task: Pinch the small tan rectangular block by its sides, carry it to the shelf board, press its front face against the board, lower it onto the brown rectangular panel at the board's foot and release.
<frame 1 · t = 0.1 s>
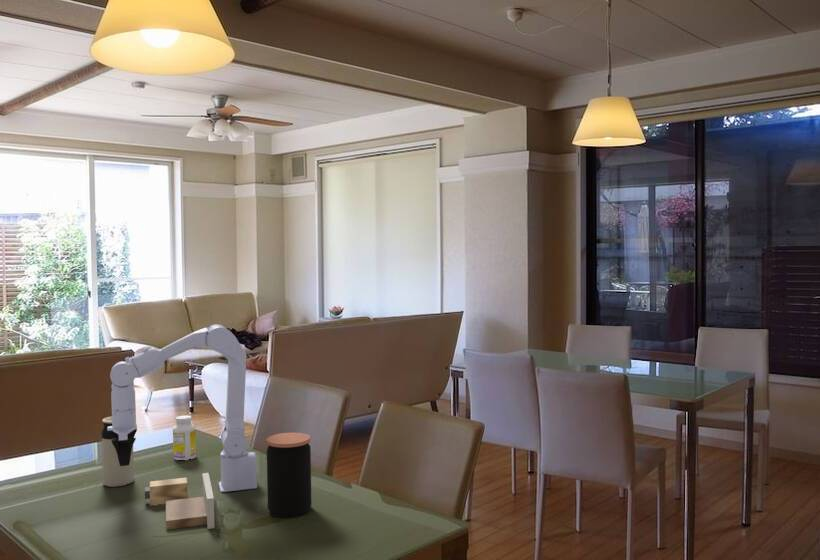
hand: (125, 461, 184), 10 cm above the table, tool pointing down, fingers open, 7 cm apart
shelf board: (208, 513, 174), on the table
brown rectangular panel: (185, 516, 173), on the table
coffee jar: (289, 511, 176), on the table
travel mug: (118, 483, 198), on the table
supplement bottle: (184, 458, 221), on the table
tan rectangular block: (168, 501, 184), on the table
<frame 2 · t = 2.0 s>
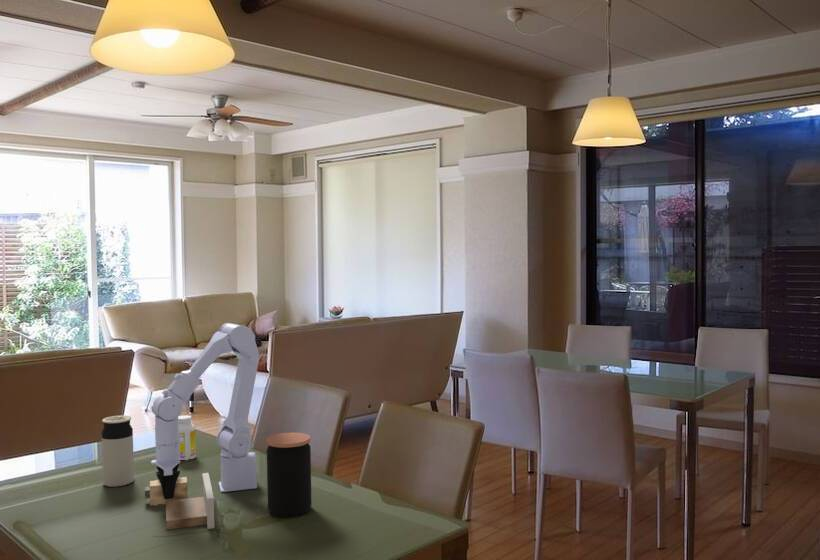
hand: (168, 495, 184), 1 cm above the table, tool pointing down, fingers closed on tan rectangular block, 4 cm apart
tan rectangular block: (169, 500, 184), on the table, touching gripper
everything else where it was.
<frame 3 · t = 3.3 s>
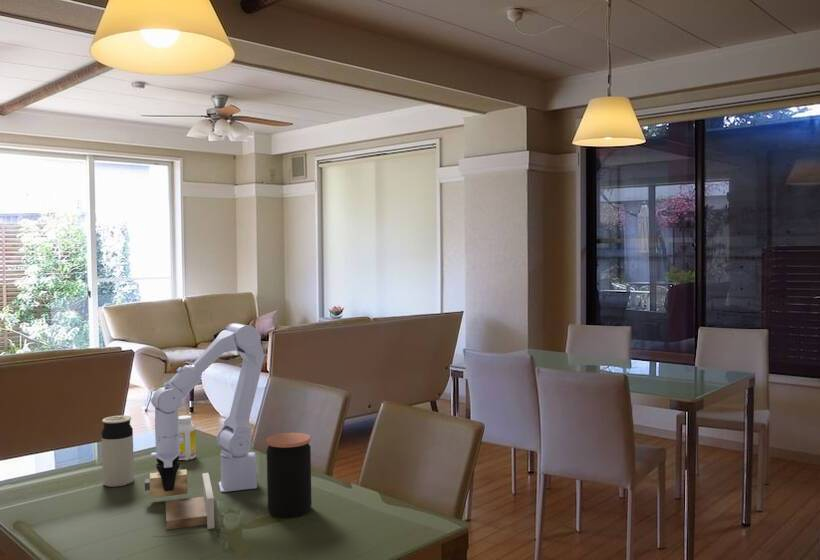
hand: (168, 487, 184), 3 cm above the table, tool pointing down, fingers closed on tan rectangular block, 4 cm apart
tan rectangular block: (168, 493, 184), point 2 cm above the table, touching gripper
everything else where it was.
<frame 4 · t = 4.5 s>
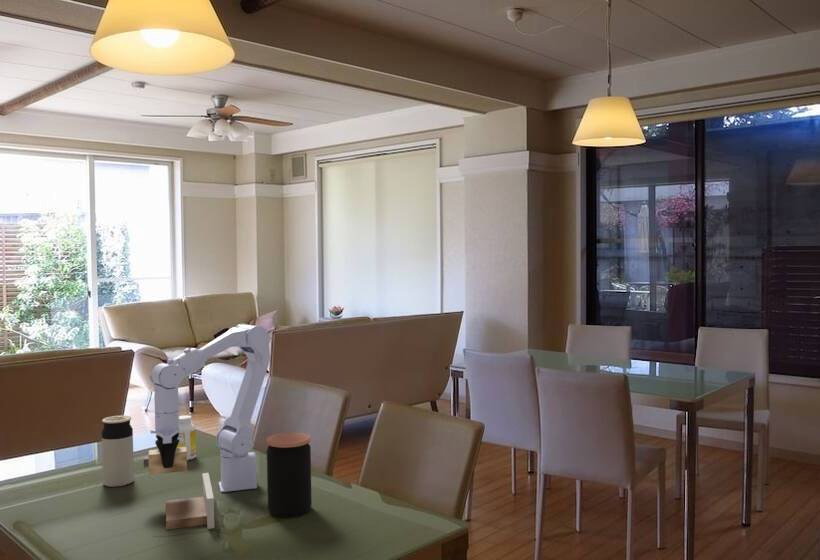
hand: (168, 464, 181), 10 cm above the table, tool pointing down, fingers closed on tan rectangular block, 4 cm apart
tan rectangular block: (168, 470, 181), point 8 cm above the table, touching gripper
everything else where it was.
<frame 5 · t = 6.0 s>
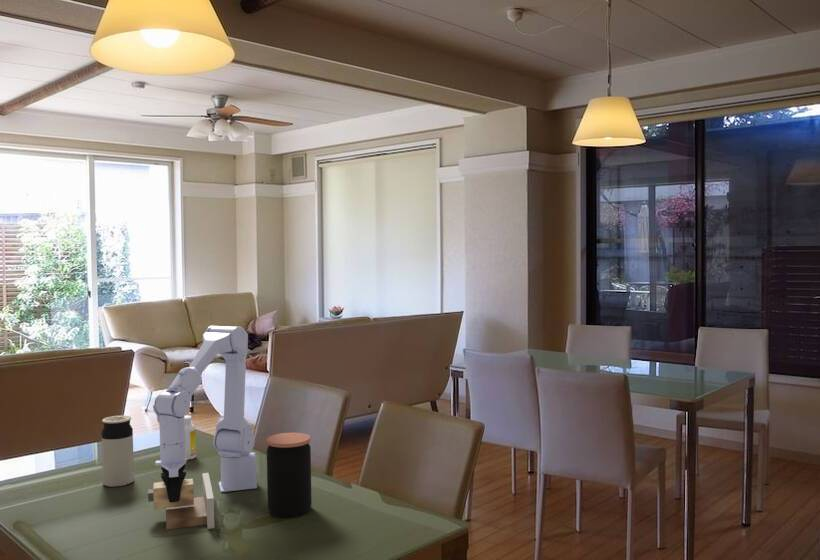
hand: (174, 498, 172), 5 cm above the table, tool pointing down, fingers closed on tan rectangular block, 4 cm apart
tan rectangular block: (173, 504, 172), point 3 cm above the table, touching gripper
everything else where it was.
when the fingers open (4 cm above the table, at t = 7.3 s): tan rectangular block stays where it is, resting on brown rectangular panel.
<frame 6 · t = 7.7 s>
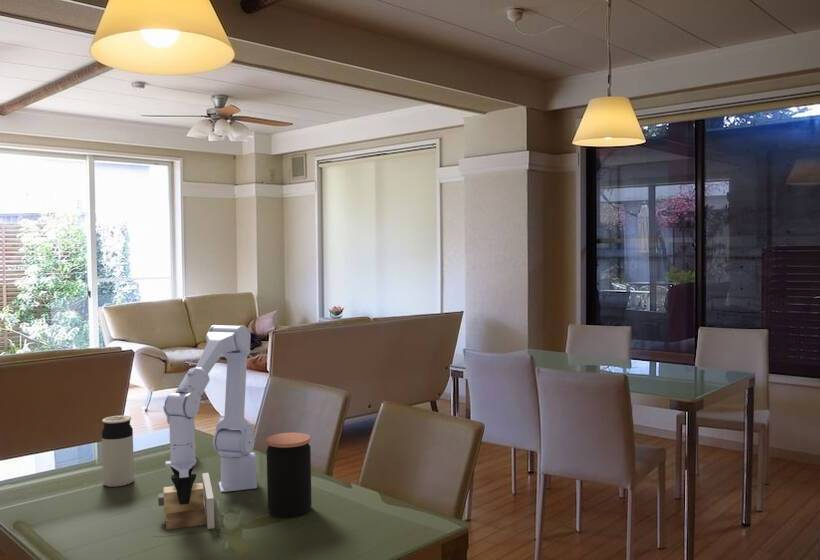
hand: (183, 498, 172), 4 cm above the table, tool pointing down, fingers open, 7 cm apart
tan rectangular block: (183, 508, 173), point 2 cm above the table, touching brown rectangular panel
everything else where it was.
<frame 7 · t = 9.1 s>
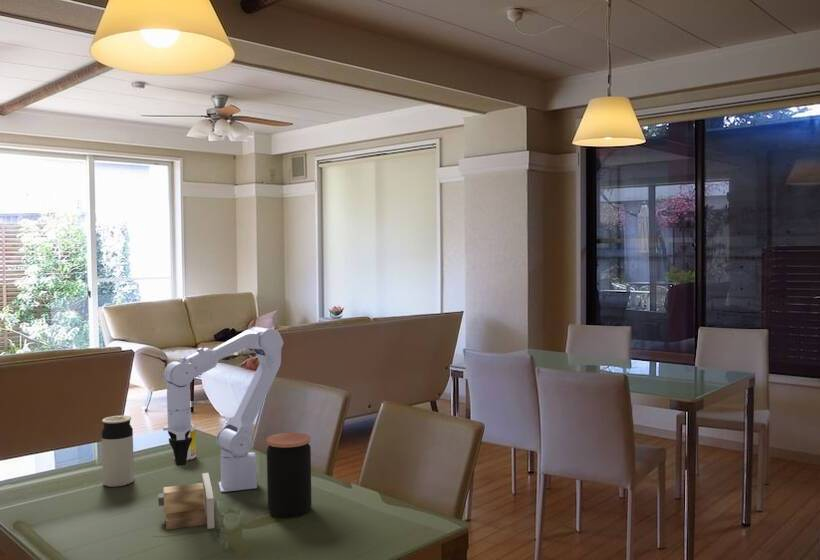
hand: (180, 461, 185), 10 cm above the table, tool pointing down, fingers open, 7 cm apart
nothing on the table moved.
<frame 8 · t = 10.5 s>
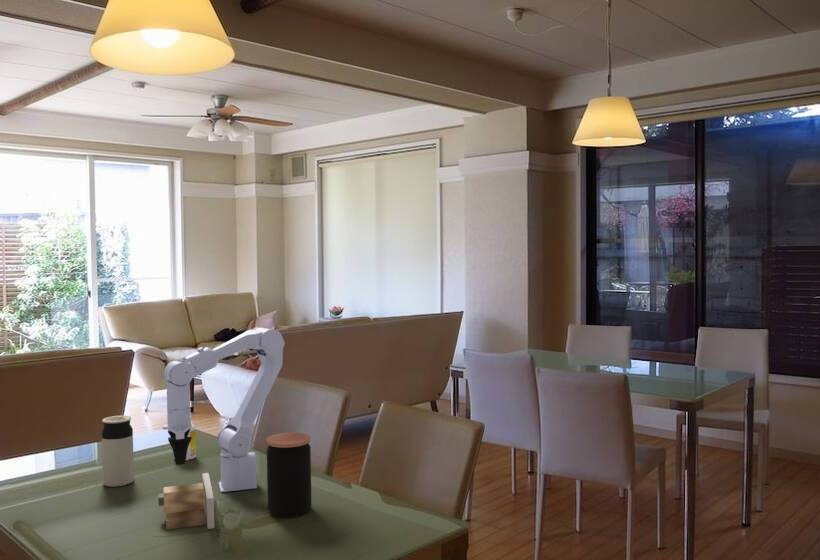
hand: (180, 460, 185), 10 cm above the table, tool pointing down, fingers open, 7 cm apart
nothing on the table moved.
at the end: tan rectangular block 0.3 cm from the target spot on the shelf board, point 2.0 cm above the shelf board's base; tan rectangular block tilted 0°; the gripper is holding nothing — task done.
